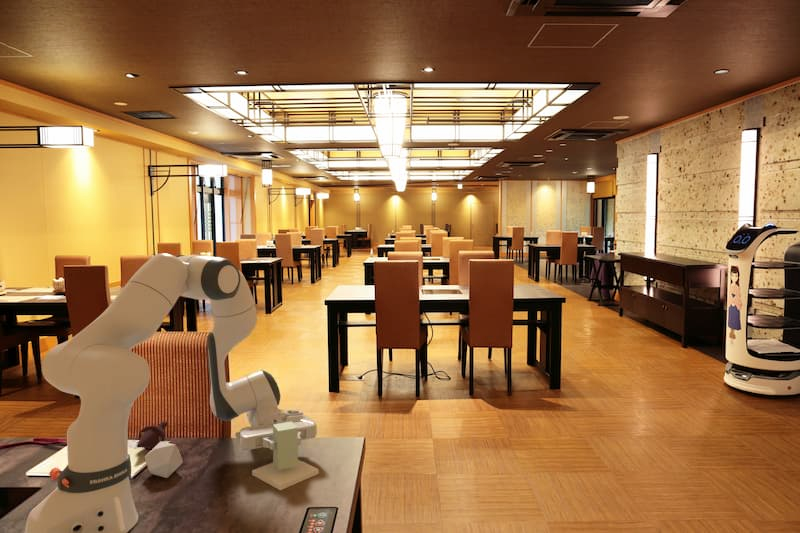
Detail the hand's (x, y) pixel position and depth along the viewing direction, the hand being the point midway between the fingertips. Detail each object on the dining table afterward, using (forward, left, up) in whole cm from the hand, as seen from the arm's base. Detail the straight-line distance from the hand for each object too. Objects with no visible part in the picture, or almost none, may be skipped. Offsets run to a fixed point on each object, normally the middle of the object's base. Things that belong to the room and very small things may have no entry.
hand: (286, 444), depth 138 cm
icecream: (-16, +42, -8) cm, 45 cm away
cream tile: (0, +1, -8) cm, 8 cm away
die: (-21, +24, -8) cm, 33 cm away
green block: (0, +1, -5) cm, 6 cm away
